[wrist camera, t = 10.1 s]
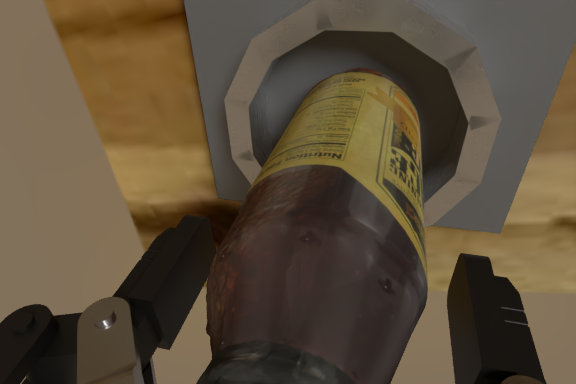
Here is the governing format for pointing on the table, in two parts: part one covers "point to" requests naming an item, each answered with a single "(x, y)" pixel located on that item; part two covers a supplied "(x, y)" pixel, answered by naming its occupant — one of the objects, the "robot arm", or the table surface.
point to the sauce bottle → (326, 245)
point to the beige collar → (383, 18)
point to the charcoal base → (405, 71)
